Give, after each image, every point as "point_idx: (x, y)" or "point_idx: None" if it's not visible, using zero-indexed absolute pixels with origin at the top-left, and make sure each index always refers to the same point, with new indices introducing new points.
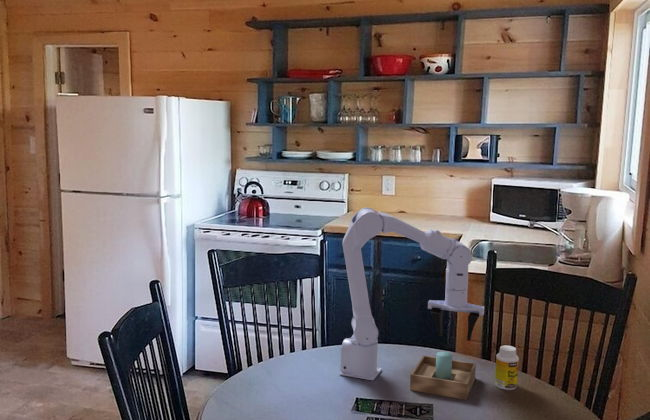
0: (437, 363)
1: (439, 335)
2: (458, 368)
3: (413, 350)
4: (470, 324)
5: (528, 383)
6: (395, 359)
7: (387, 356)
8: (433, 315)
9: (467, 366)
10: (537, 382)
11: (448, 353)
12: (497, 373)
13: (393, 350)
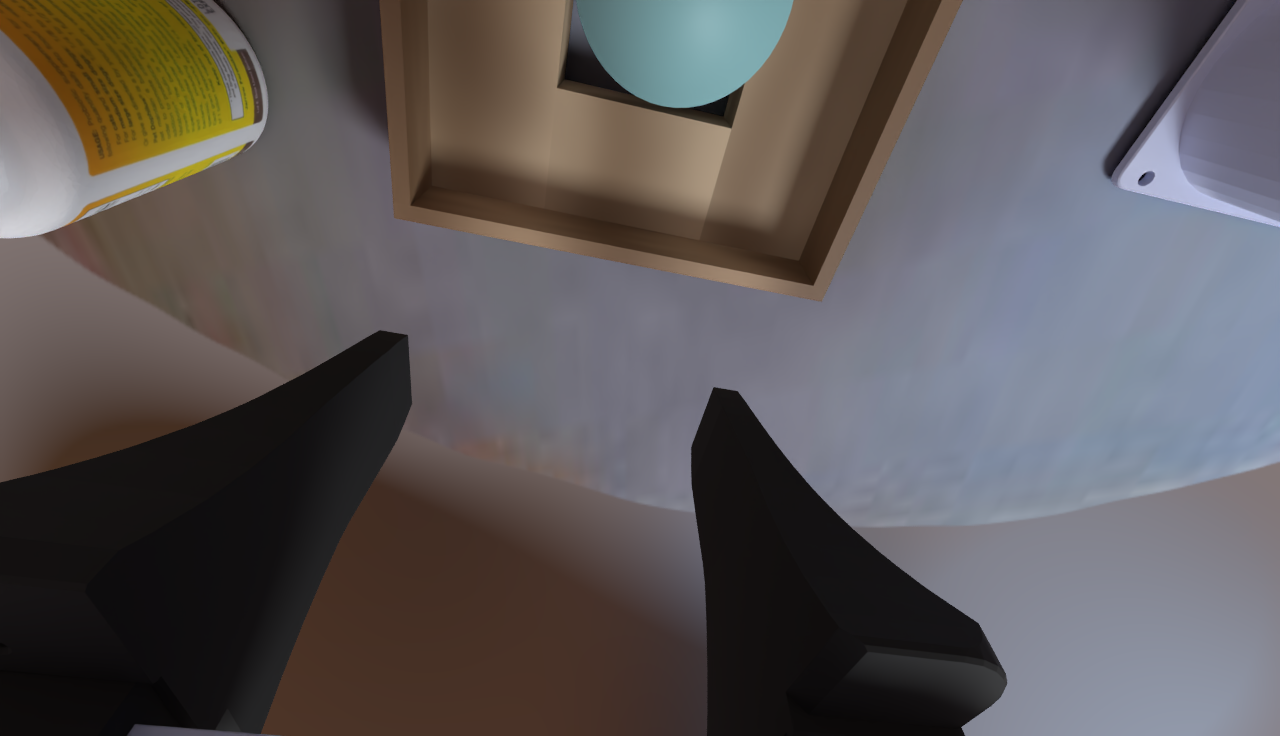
0: None
1: (728, 395)
2: (546, 210)
3: None
4: (212, 457)
5: None
6: (939, 367)
7: (976, 397)
8: (937, 610)
9: (470, 205)
10: None
11: (626, 48)
12: (145, 22)
13: (915, 470)
